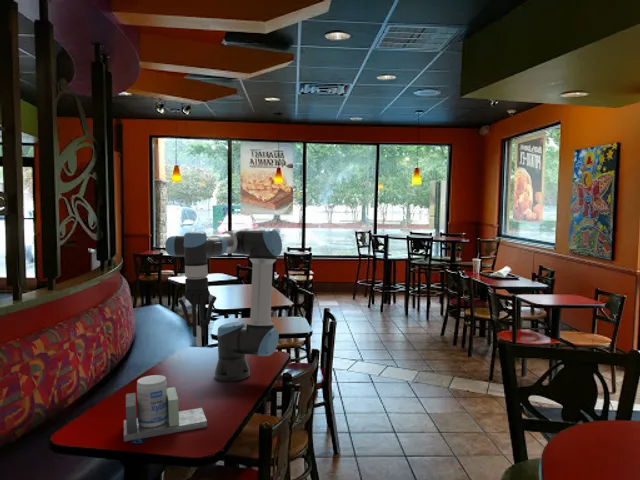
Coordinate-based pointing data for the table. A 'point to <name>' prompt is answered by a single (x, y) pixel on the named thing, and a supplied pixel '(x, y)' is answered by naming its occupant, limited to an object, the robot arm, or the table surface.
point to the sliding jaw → (172, 407)
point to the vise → (135, 431)
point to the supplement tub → (152, 401)
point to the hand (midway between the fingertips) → (198, 345)
